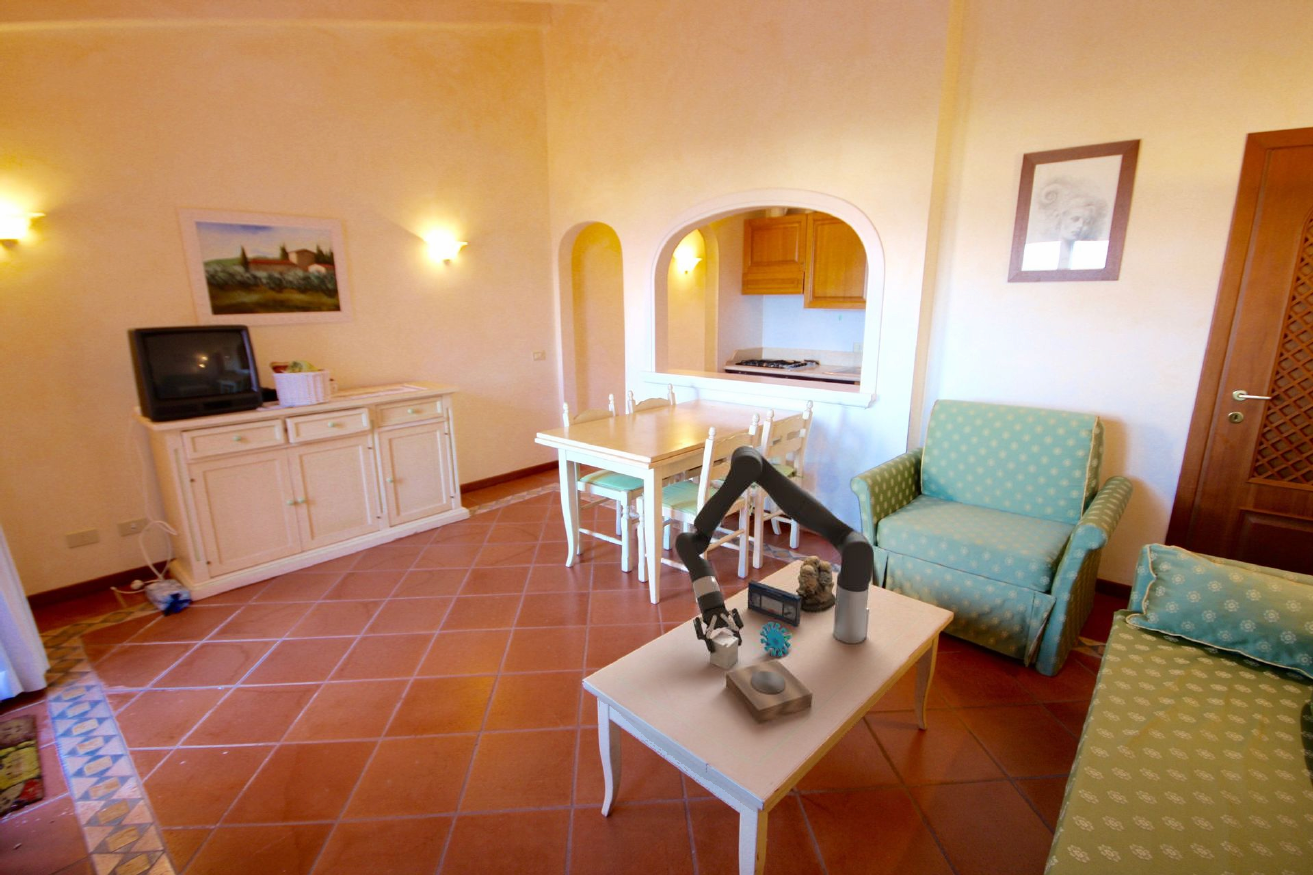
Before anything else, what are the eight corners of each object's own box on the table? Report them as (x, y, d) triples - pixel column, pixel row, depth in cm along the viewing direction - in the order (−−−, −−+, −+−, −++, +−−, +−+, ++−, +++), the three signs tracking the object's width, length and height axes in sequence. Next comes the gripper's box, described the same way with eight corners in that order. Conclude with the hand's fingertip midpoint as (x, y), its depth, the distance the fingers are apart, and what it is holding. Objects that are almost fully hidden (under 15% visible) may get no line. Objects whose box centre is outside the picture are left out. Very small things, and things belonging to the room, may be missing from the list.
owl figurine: (812, 618, 192) (815, 570, 188) (783, 605, 200) (785, 559, 197) (843, 600, 203) (846, 554, 199) (814, 588, 212) (817, 544, 208)
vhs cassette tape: (746, 608, 198) (747, 582, 196) (751, 605, 200) (752, 578, 198) (796, 628, 186) (797, 599, 184) (800, 624, 188) (802, 596, 186)
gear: (767, 657, 168) (758, 622, 173) (757, 662, 173) (748, 628, 178) (799, 653, 173) (788, 619, 178) (788, 658, 177) (778, 625, 182)
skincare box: (720, 652, 174) (721, 630, 172) (738, 660, 170) (739, 637, 168) (709, 662, 169) (709, 639, 167) (726, 670, 165) (727, 647, 163)
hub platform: (775, 671, 165) (776, 657, 164) (811, 706, 150) (812, 692, 149) (725, 685, 158) (726, 671, 157) (758, 724, 144) (758, 709, 143)
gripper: (690, 595, 169) (709, 651, 161) (733, 585, 174) (753, 640, 167) (682, 603, 175) (700, 658, 167) (724, 593, 180) (742, 646, 173)
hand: (726, 649), depth 167 cm, fingers open, 8 cm apart
